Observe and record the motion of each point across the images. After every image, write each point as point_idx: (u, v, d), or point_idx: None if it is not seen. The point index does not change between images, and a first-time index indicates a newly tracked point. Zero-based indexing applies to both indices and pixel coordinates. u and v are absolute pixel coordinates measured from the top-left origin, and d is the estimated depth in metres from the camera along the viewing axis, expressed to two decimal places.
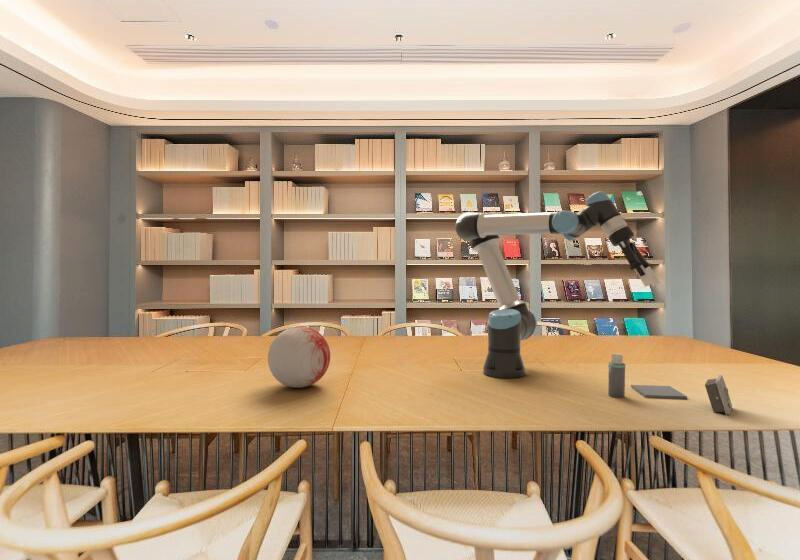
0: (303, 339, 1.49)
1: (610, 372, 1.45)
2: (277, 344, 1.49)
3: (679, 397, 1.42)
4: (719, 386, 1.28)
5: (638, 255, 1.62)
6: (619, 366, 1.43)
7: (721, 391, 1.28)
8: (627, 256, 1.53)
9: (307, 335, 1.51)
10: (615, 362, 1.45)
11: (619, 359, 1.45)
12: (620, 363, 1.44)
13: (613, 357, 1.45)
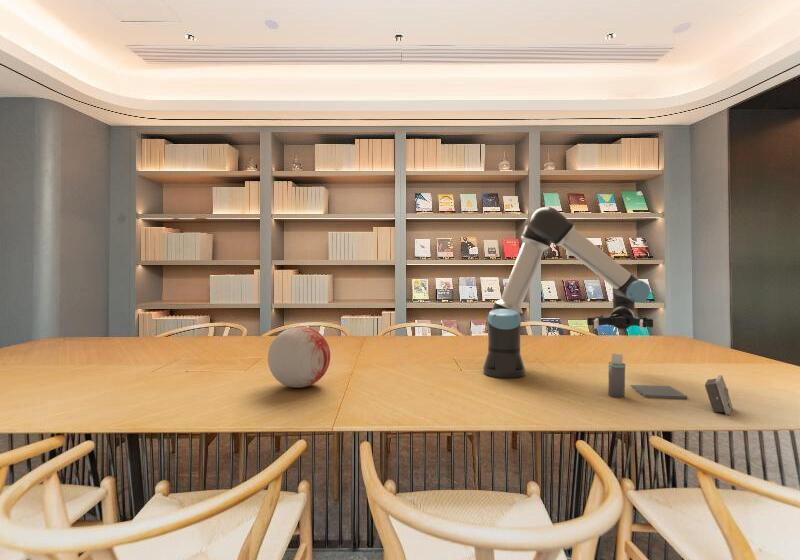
0: (303, 339, 1.49)
1: (610, 372, 1.45)
2: (277, 344, 1.49)
3: (679, 397, 1.42)
4: (719, 386, 1.28)
5: (608, 323, 1.65)
6: (619, 366, 1.43)
7: (721, 391, 1.28)
8: None
9: (307, 335, 1.51)
10: (615, 362, 1.45)
11: (619, 359, 1.45)
12: (620, 363, 1.44)
13: (613, 357, 1.45)
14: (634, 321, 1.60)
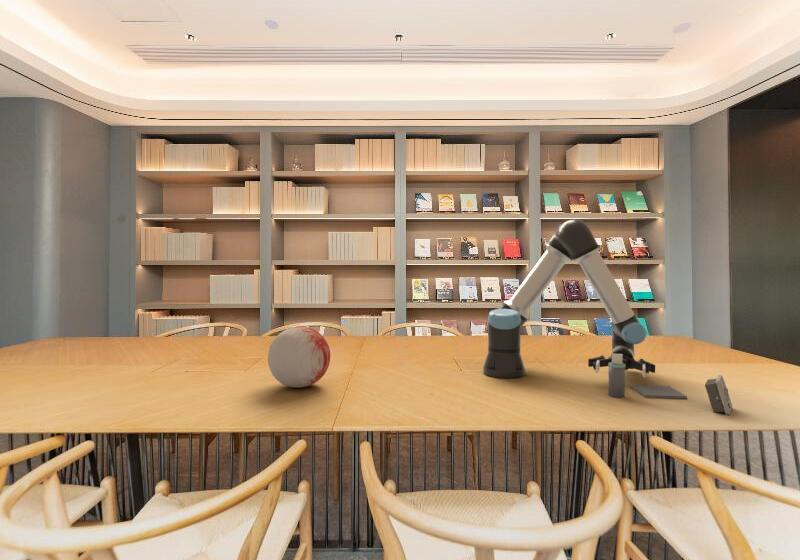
0: (303, 339, 1.49)
1: (610, 372, 1.45)
2: (277, 344, 1.49)
3: (679, 397, 1.42)
4: (719, 386, 1.28)
5: None
6: (619, 366, 1.43)
7: (721, 391, 1.28)
8: None
9: (307, 335, 1.51)
10: (615, 362, 1.45)
11: (619, 359, 1.45)
12: (620, 363, 1.44)
13: (613, 357, 1.45)
14: (635, 364, 1.57)
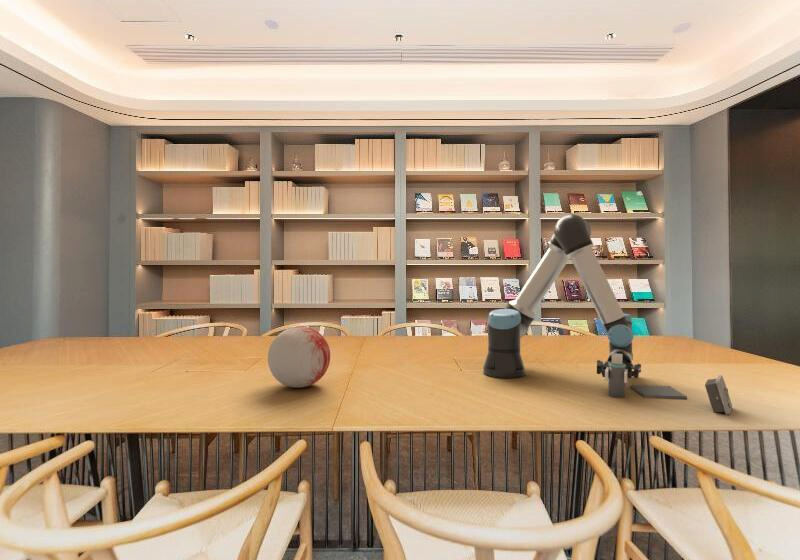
0: (303, 339, 1.49)
1: (610, 372, 1.45)
2: (277, 344, 1.49)
3: (679, 397, 1.42)
4: (719, 386, 1.28)
5: None
6: (619, 366, 1.43)
7: (721, 391, 1.28)
8: (638, 369, 1.48)
9: (307, 335, 1.51)
10: (615, 362, 1.45)
11: (619, 359, 1.44)
12: (620, 363, 1.44)
13: (613, 357, 1.45)
14: None
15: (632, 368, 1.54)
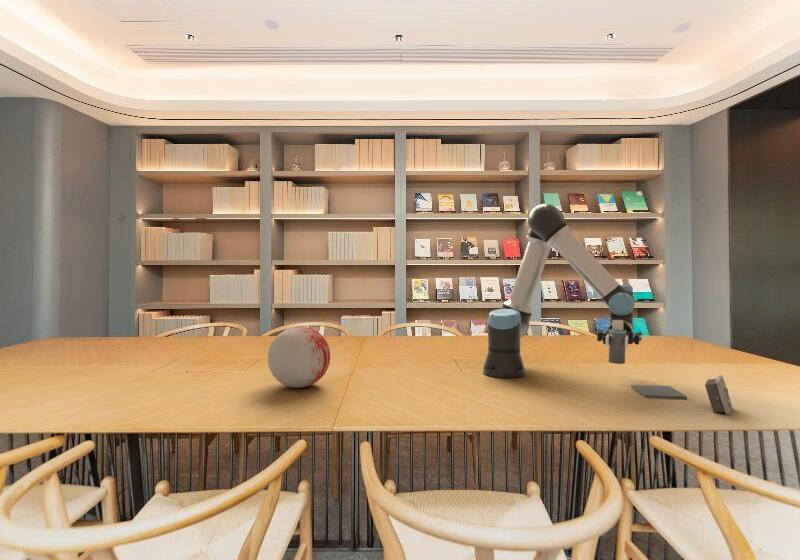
0: (303, 339, 1.49)
1: (611, 338, 1.45)
2: (277, 344, 1.49)
3: (679, 397, 1.42)
4: (719, 386, 1.28)
5: None
6: (620, 332, 1.43)
7: (721, 391, 1.28)
8: (639, 336, 1.47)
9: (307, 335, 1.51)
10: (616, 328, 1.45)
11: (620, 325, 1.44)
12: (621, 329, 1.44)
13: (614, 323, 1.45)
14: None
15: (633, 336, 1.53)
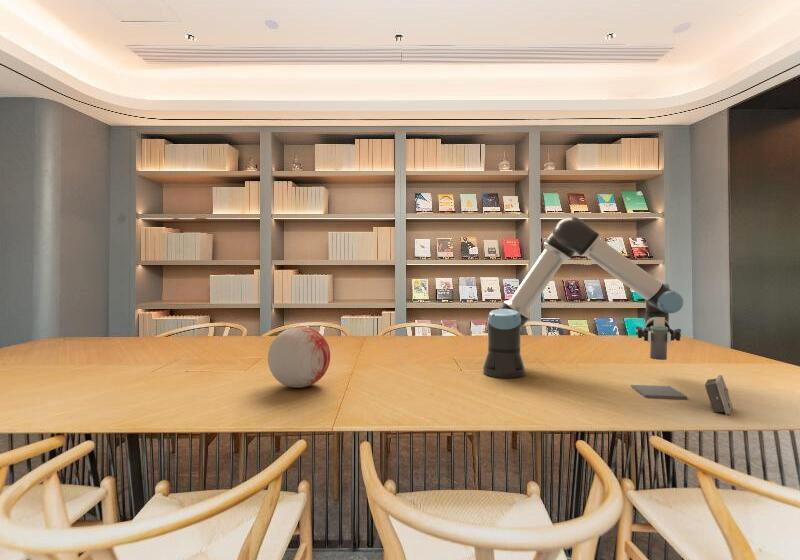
0: (303, 339, 1.49)
1: (652, 335, 1.48)
2: (277, 344, 1.49)
3: (679, 397, 1.42)
4: (719, 386, 1.28)
5: None
6: (662, 329, 1.46)
7: (721, 391, 1.28)
8: None
9: (307, 335, 1.51)
10: (657, 325, 1.48)
11: (661, 322, 1.47)
12: (662, 326, 1.47)
13: (655, 320, 1.48)
14: None
15: None
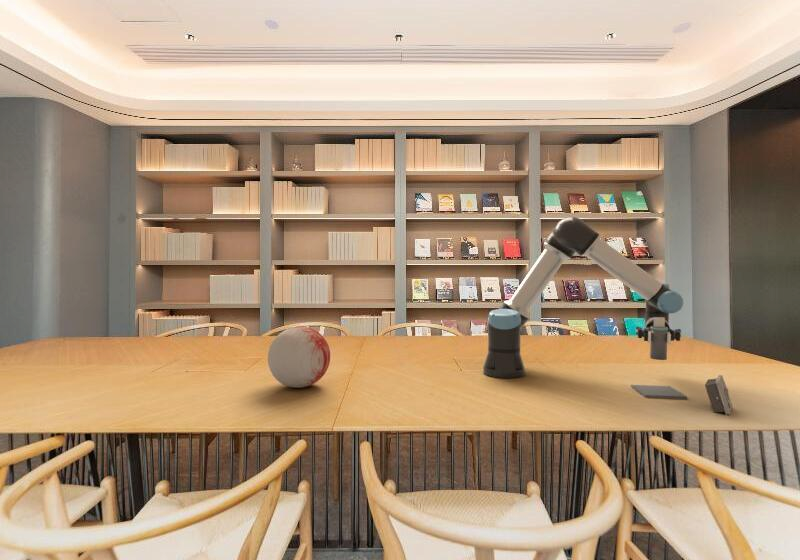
0: (303, 339, 1.49)
1: (652, 335, 1.48)
2: (277, 344, 1.49)
3: (679, 397, 1.42)
4: (719, 386, 1.28)
5: None
6: (662, 329, 1.46)
7: (721, 391, 1.28)
8: None
9: (307, 335, 1.51)
10: (657, 325, 1.48)
11: (661, 322, 1.47)
12: (662, 326, 1.47)
13: (655, 320, 1.48)
14: None
15: None
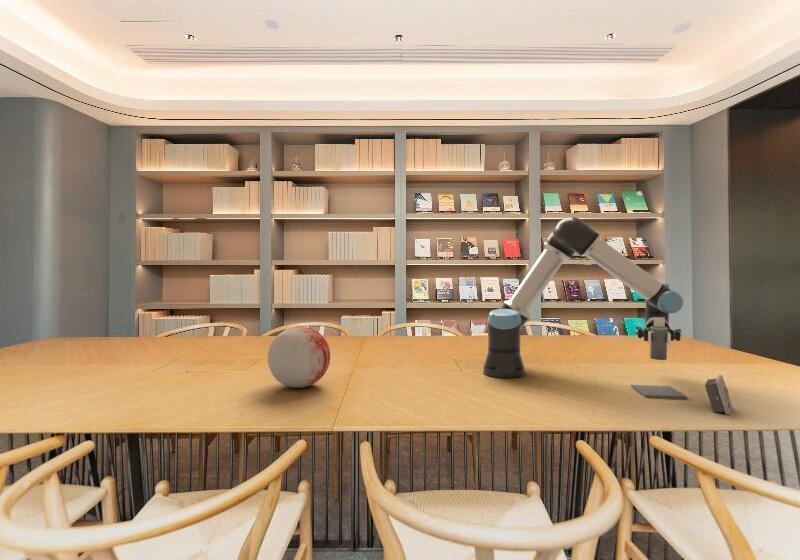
0: (303, 339, 1.49)
1: (652, 335, 1.48)
2: (277, 344, 1.49)
3: (679, 397, 1.42)
4: (719, 386, 1.28)
5: None
6: (662, 329, 1.46)
7: (721, 391, 1.28)
8: None
9: (307, 335, 1.51)
10: (657, 325, 1.48)
11: (661, 322, 1.47)
12: (662, 326, 1.47)
13: (655, 320, 1.48)
14: None
15: None
